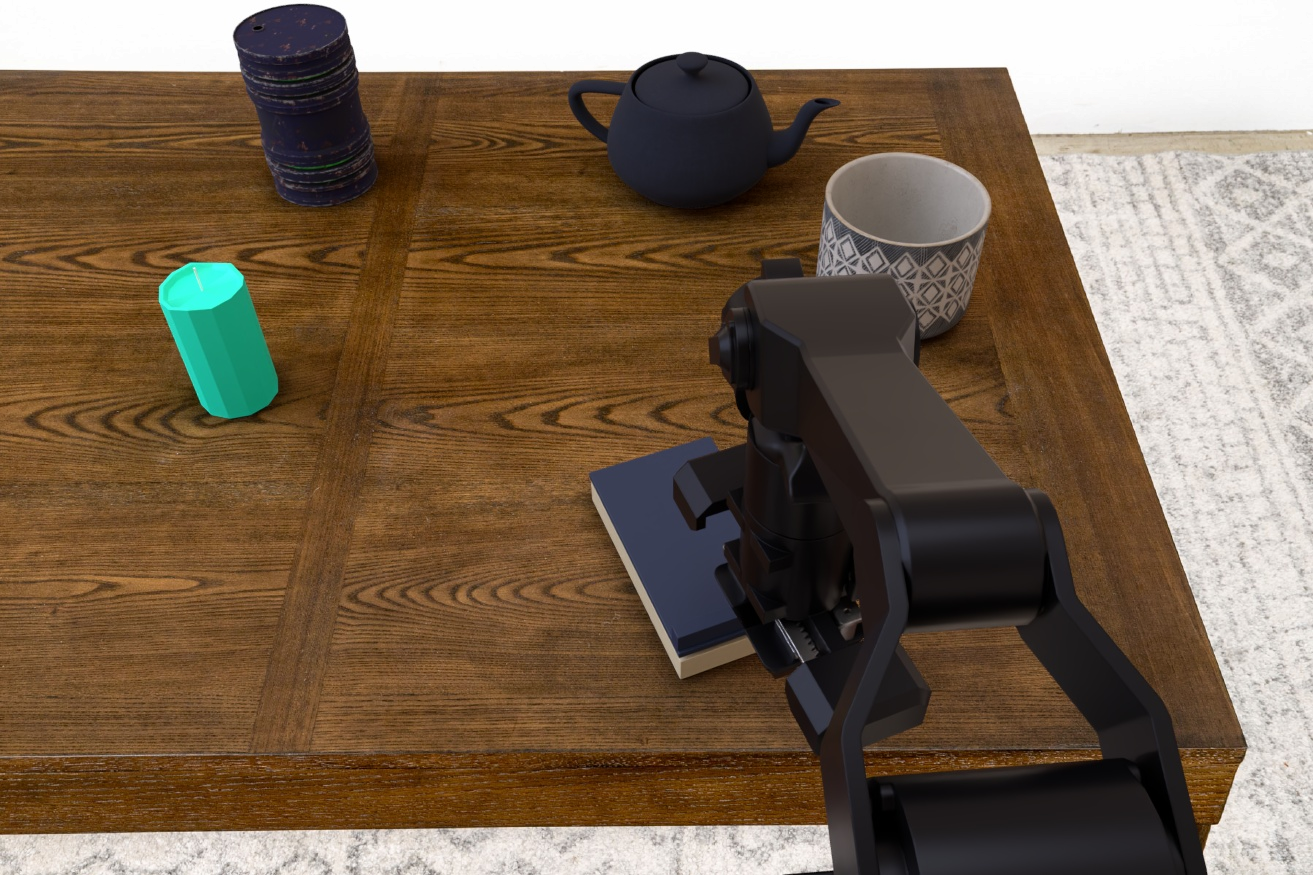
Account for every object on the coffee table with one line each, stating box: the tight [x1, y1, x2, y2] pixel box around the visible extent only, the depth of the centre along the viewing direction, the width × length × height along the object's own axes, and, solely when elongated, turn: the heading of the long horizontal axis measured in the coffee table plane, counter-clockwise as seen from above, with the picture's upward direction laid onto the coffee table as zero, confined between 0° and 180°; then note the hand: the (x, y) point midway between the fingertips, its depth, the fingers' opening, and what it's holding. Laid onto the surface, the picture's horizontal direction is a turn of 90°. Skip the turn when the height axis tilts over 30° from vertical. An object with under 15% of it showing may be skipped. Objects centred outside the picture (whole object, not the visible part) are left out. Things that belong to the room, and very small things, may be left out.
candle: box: [158, 262, 279, 419], centre depth 86 cm, size 6×6×12 cm
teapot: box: [567, 51, 842, 210], centre depth 106 cm, size 25×16×12 cm, turn 75°
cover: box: [588, 435, 746, 658], centre depth 76 cm, size 16×9×2 cm, turn 22°
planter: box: [815, 151, 992, 341], centre depth 93 cm, size 13×13×10 cm
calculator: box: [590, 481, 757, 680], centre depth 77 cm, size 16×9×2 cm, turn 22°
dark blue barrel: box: [232, 3, 379, 208], centre depth 105 cm, size 10×10×15 cm
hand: (780, 671), depth 67 cm, fingers closed
